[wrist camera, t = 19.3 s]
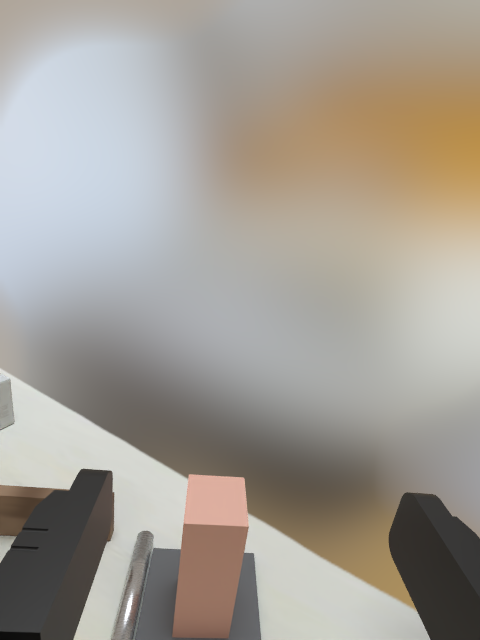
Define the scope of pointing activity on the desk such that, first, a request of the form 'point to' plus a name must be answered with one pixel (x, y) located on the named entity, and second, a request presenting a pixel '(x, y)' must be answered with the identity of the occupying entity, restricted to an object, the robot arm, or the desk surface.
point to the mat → (162, 599)
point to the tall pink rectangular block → (210, 556)
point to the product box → (5, 402)
